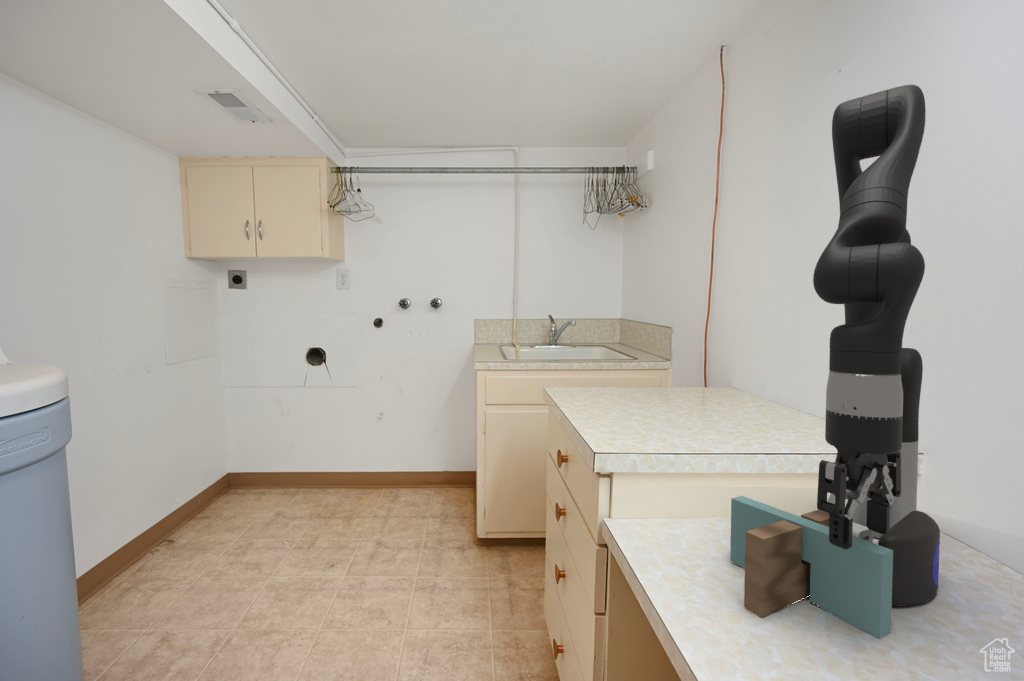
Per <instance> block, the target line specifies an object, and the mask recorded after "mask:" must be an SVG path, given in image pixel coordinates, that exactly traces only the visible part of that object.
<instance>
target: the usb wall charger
mask: <svg viewBox="0 0 1024 681" xmlns="http://www.w3.org/2000/svg"><path fill="white" fill-rule="evenodd" d="M852 536H855V537H858V538H860V539H863V540H866V541H869V542H872V543H874V542H873V541H874V537H873V531H872V530H869V529H868V528H867V527H865V526H862V525H860V524H857V523H854V522H853V531H852Z"/></svg>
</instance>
